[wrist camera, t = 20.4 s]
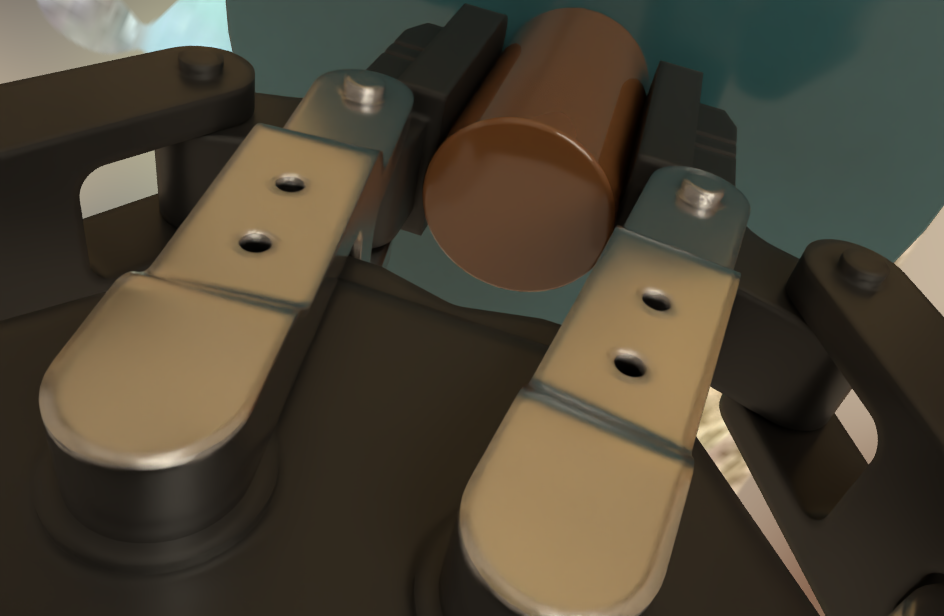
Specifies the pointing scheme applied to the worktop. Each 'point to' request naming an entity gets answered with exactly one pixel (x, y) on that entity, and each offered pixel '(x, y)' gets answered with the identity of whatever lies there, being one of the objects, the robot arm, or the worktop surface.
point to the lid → (618, 119)
